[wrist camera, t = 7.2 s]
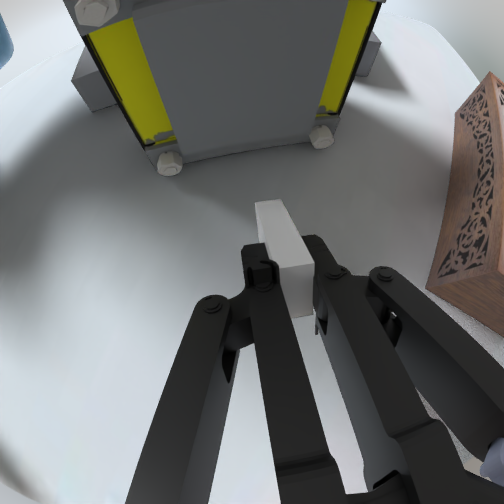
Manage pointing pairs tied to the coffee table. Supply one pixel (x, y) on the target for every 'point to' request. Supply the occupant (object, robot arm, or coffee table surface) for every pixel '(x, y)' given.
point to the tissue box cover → (475, 211)
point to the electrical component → (226, 70)
